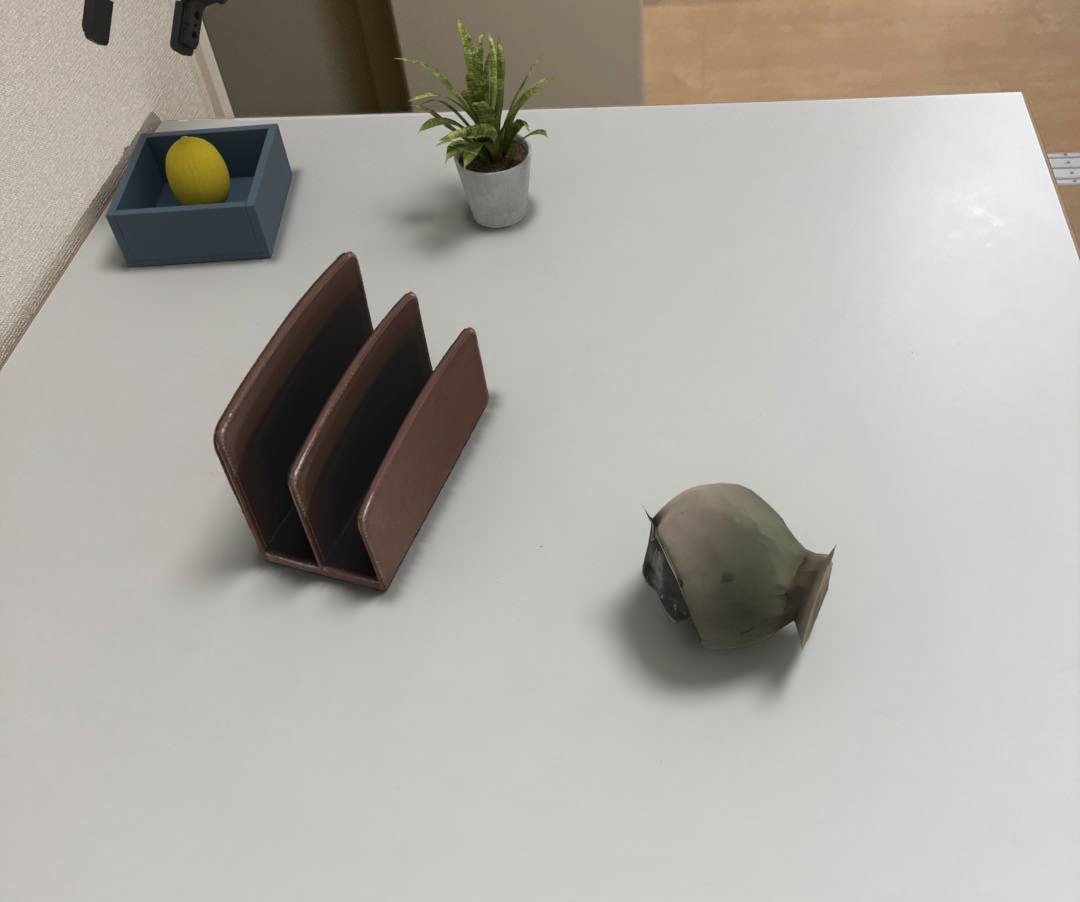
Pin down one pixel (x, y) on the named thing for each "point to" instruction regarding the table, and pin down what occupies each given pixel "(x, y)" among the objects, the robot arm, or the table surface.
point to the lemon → (197, 172)
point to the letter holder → (347, 431)
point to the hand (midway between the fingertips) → (138, 47)
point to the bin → (207, 229)
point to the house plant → (487, 136)
